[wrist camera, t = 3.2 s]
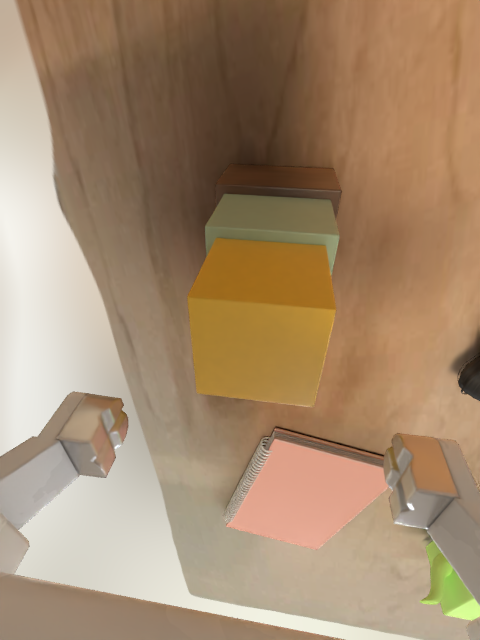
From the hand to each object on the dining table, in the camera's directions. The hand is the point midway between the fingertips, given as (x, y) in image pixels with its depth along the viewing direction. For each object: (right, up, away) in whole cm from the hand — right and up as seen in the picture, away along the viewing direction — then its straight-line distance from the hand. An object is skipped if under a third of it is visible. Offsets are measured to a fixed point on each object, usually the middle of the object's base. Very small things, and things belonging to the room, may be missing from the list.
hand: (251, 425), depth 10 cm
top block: (+1, +5, +6) cm, 8 cm away
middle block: (+2, +8, +10) cm, 13 cm away
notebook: (+8, -22, +38) cm, 44 cm away
